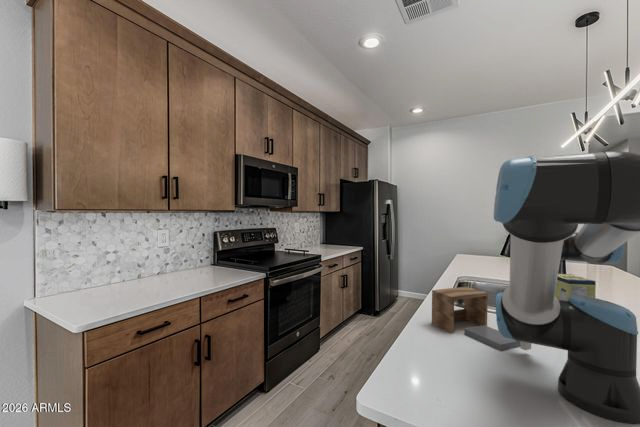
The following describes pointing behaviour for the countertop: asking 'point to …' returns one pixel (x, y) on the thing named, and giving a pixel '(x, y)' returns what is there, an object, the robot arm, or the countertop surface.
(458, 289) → the walnut shelf
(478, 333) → the slate board
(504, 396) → the countertop surface
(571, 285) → the protein box
